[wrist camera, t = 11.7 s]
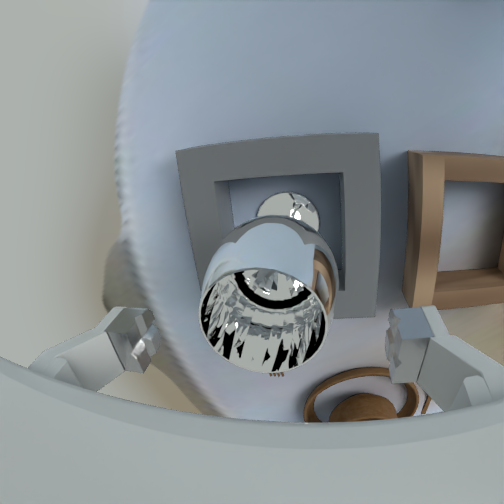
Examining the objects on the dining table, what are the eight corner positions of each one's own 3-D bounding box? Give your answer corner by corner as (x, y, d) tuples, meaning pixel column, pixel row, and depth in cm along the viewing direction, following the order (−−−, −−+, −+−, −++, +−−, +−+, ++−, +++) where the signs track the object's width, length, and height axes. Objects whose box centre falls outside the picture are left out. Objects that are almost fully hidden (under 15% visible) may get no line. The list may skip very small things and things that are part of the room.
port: (193, 147, 21) (172, 151, 17) (368, 132, 18) (379, 133, 15) (218, 298, 25) (205, 321, 22) (369, 295, 22) (375, 320, 19)
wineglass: (285, 274, 23) (259, 399, 12) (230, 219, 22) (155, 312, 11) (345, 227, 21) (375, 335, 10) (289, 164, 20) (264, 213, 9)
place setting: (280, 432, 32) (273, 473, 27) (257, 290, 25) (241, 335, 19) (424, 422, 28) (432, 461, 23) (465, 274, 21) (496, 314, 15)
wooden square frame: (407, 150, 18) (422, 154, 15) (521, 158, 16) (544, 165, 13) (402, 290, 22) (411, 312, 19) (506, 282, 20) (522, 299, 17)
